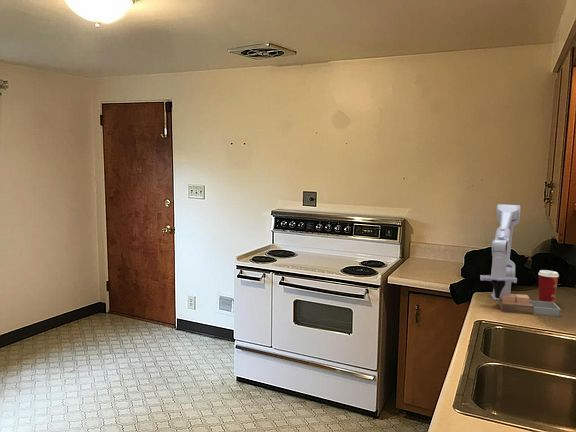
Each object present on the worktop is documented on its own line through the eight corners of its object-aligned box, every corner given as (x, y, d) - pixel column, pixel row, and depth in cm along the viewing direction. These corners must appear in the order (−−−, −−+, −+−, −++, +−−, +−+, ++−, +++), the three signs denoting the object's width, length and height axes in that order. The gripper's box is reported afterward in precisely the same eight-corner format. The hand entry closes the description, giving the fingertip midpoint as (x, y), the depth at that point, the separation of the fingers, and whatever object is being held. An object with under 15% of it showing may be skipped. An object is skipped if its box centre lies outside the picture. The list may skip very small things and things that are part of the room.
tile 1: (500, 298, 215) (501, 293, 215) (513, 299, 214) (513, 294, 214) (502, 301, 210) (503, 296, 210) (515, 302, 209) (515, 297, 209)
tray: (527, 306, 216) (528, 300, 215) (553, 308, 213) (553, 302, 213) (533, 314, 205) (533, 307, 205) (560, 316, 202) (560, 309, 202)
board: (497, 304, 219) (498, 296, 219) (527, 306, 216) (527, 298, 216) (502, 311, 208) (502, 303, 207) (533, 314, 205) (533, 306, 204)
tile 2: (514, 299, 214) (514, 294, 214) (526, 300, 213) (527, 295, 212) (516, 302, 209) (516, 297, 209) (529, 303, 208) (529, 298, 208)
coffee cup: (559, 307, 215) (561, 274, 213) (538, 306, 216) (541, 273, 215) (553, 302, 223) (555, 270, 221) (533, 301, 224) (535, 269, 223)
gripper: (482, 267, 210) (480, 298, 211) (519, 270, 206) (516, 301, 208) (480, 264, 217) (478, 294, 218) (515, 266, 213) (513, 297, 214)
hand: (497, 297), depth 213 cm, fingers closed
